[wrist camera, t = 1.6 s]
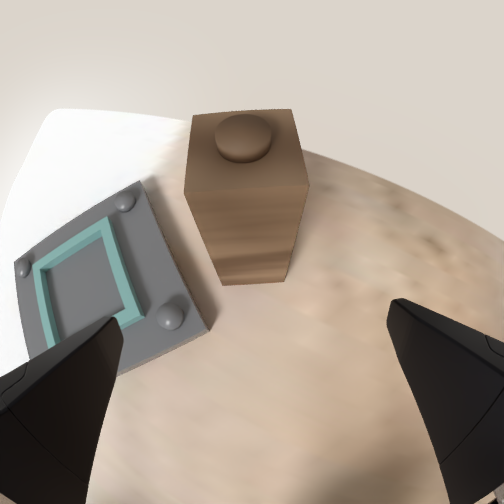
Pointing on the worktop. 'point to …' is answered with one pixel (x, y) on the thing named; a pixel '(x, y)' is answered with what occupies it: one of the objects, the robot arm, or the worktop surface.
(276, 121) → the pillar
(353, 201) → the worktop surface
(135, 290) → the baseplate
